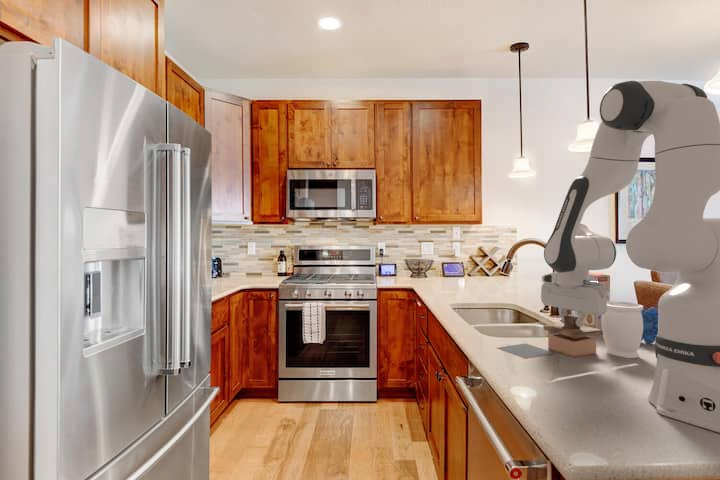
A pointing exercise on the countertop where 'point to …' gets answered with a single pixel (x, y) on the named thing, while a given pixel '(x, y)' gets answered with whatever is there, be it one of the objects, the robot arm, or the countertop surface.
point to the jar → (622, 328)
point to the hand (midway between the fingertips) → (571, 324)
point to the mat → (526, 351)
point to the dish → (572, 345)
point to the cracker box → (595, 320)
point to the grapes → (650, 324)
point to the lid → (572, 328)
